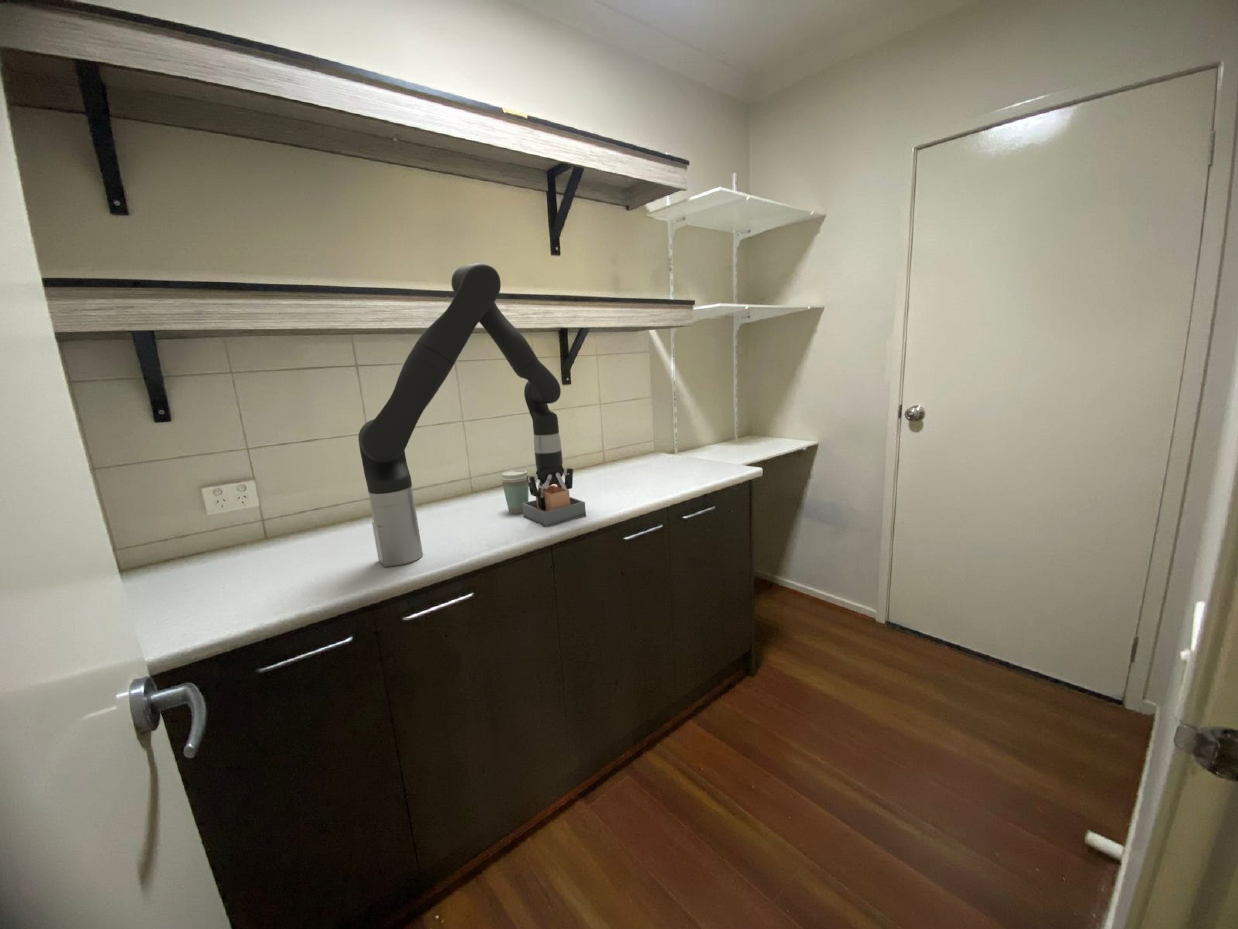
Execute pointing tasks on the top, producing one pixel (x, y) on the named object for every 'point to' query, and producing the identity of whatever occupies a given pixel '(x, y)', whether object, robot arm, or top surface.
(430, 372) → the robot arm
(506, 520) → the top surface
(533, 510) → the big crate
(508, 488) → the coffee cup
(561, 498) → the small crate
